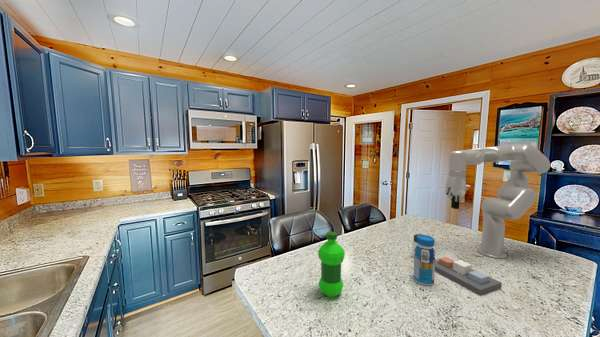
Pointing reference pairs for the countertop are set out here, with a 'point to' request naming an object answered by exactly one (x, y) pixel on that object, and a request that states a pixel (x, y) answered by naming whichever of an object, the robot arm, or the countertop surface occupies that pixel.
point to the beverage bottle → (424, 260)
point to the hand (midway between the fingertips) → (455, 208)
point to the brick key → (446, 262)
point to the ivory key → (461, 267)
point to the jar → (414, 244)
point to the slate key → (478, 277)
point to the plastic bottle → (331, 266)
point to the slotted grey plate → (468, 280)
